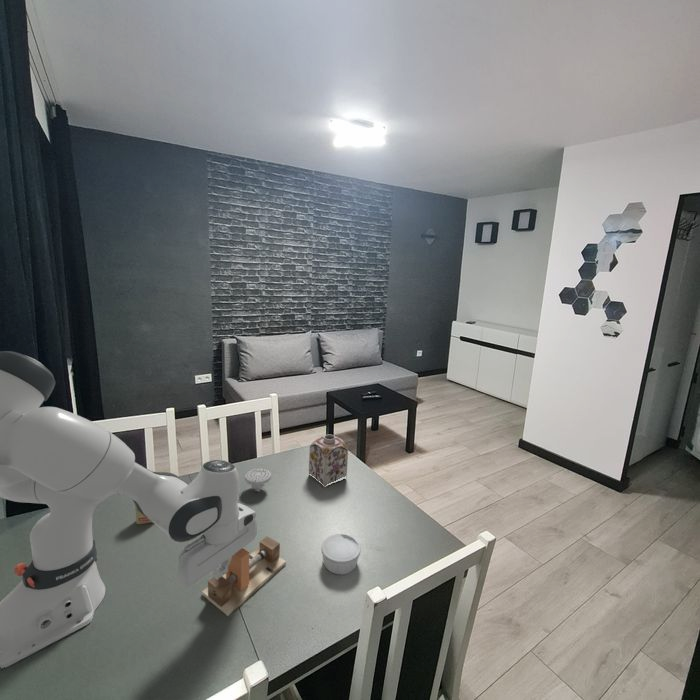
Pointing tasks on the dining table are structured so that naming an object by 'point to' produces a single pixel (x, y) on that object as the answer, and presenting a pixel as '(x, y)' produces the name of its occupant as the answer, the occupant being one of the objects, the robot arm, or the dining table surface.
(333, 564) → the ramekin
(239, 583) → the collar
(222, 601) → the rod stand
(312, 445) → the decorative jar
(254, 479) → the showerhead
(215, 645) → the dining table surface
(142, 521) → the lighter
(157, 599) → the dining table surface
